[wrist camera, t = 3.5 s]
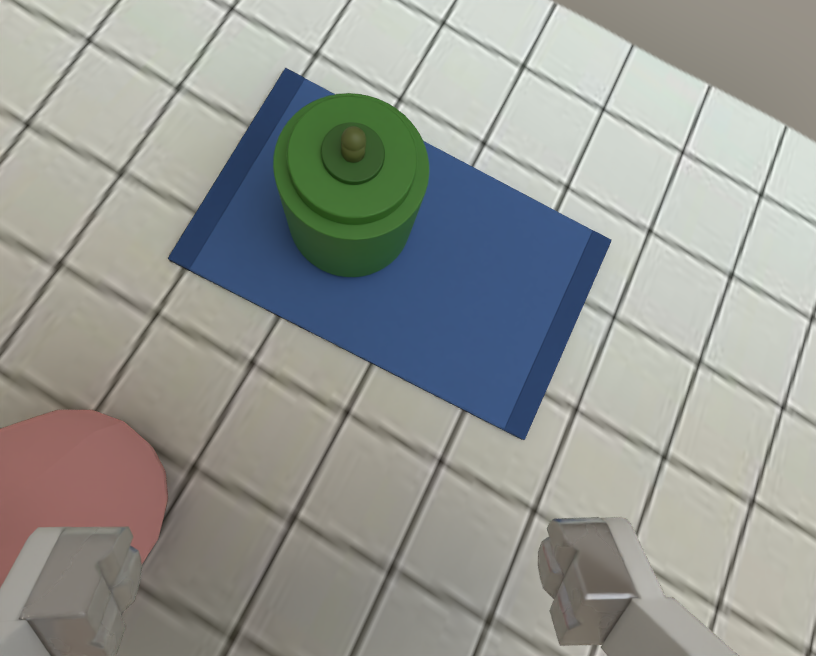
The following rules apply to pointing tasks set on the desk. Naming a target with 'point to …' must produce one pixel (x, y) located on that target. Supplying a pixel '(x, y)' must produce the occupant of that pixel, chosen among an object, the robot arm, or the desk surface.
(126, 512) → the pink vase
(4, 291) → the desk surface
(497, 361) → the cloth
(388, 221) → the green lidded canister
